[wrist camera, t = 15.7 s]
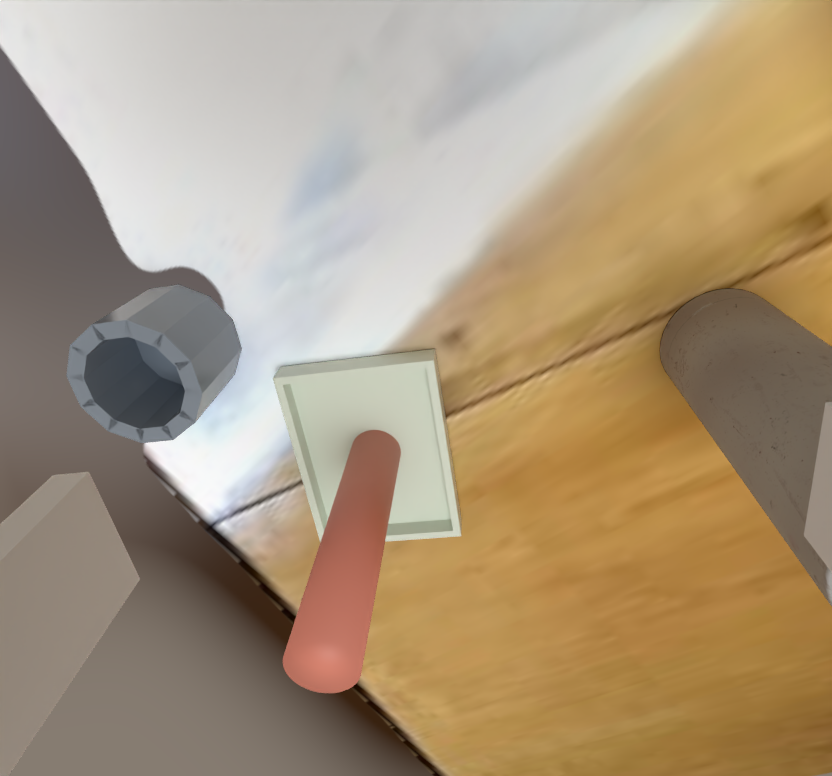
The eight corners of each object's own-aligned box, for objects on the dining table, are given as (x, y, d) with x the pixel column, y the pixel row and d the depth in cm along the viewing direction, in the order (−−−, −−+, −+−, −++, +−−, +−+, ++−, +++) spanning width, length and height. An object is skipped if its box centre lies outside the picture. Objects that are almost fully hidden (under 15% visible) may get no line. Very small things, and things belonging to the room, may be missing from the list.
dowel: (347, 432, 47) (274, 640, 29) (396, 427, 46) (352, 636, 29) (357, 473, 49) (293, 694, 31) (404, 469, 48) (368, 691, 30)
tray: (280, 366, 46) (272, 378, 44) (435, 348, 44) (433, 360, 42) (326, 529, 52) (321, 546, 51) (461, 519, 51) (461, 536, 49)
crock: (109, 293, 44) (45, 330, 37) (219, 278, 43) (174, 313, 36) (150, 397, 48) (99, 447, 41) (253, 385, 46) (217, 435, 40)
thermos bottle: (794, 358, 42) (1272, 747, 17) (686, 410, 45) (966, 816, 20) (752, 265, 39) (1244, 566, 14) (640, 326, 42) (894, 673, 17)
